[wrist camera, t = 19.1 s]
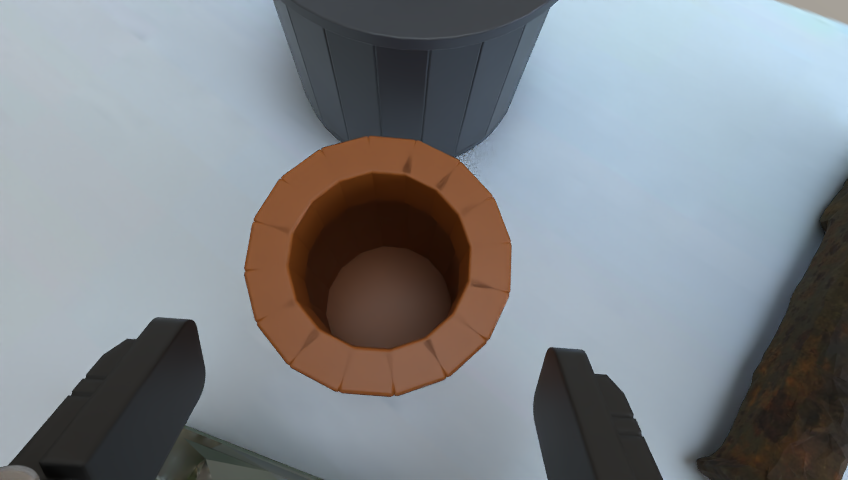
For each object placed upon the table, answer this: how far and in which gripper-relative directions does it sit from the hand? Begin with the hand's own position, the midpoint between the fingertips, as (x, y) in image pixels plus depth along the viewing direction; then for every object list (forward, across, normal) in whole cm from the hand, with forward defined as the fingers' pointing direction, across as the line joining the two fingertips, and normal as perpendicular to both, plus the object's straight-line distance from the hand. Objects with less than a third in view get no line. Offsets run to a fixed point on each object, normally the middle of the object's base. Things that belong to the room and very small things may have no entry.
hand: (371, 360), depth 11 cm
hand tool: (+10, -18, +4) cm, 21 cm away
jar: (+8, 0, +5) cm, 10 cm away
